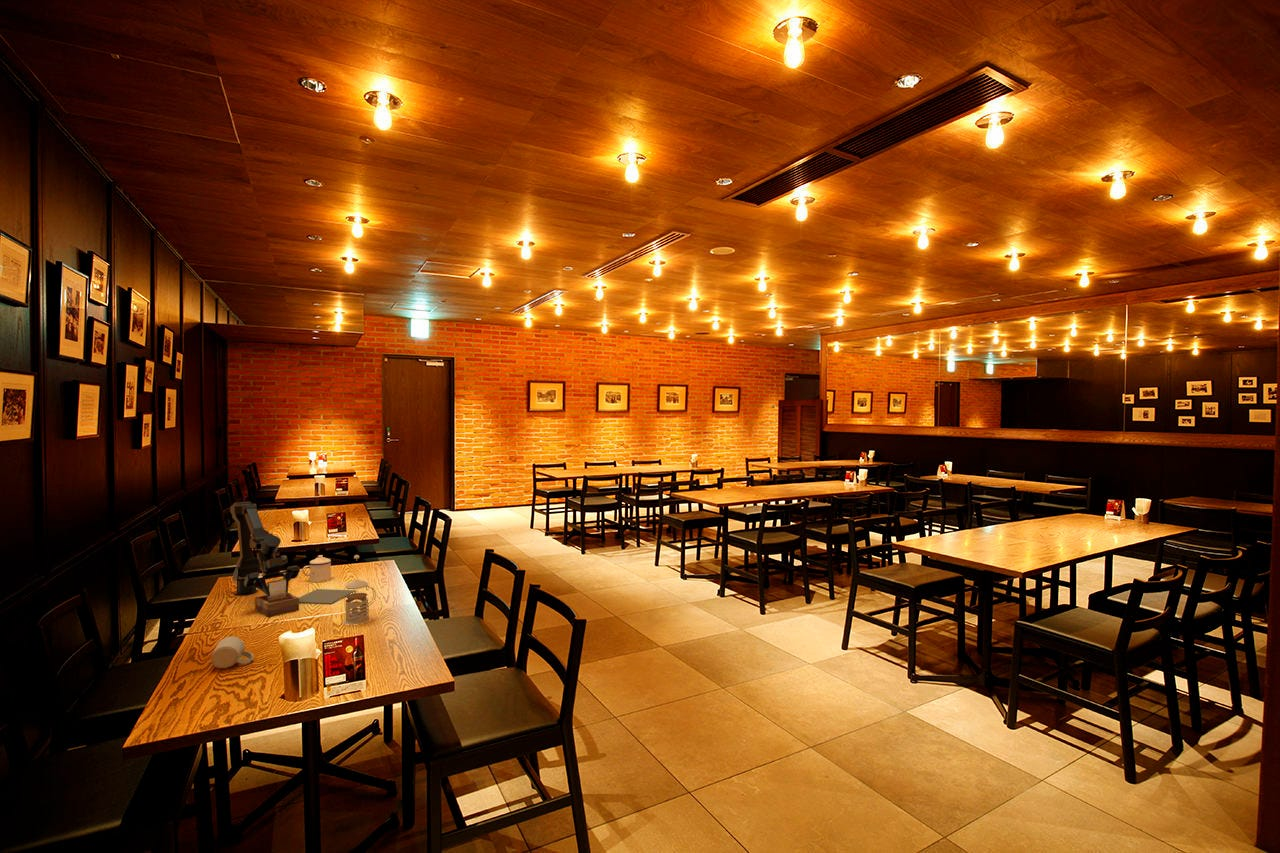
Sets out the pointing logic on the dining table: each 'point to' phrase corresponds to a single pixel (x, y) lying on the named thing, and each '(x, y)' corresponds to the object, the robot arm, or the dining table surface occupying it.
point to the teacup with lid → (319, 569)
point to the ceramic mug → (230, 653)
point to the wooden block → (277, 589)
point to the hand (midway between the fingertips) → (278, 593)
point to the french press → (357, 603)
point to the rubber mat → (324, 596)
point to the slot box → (276, 605)
